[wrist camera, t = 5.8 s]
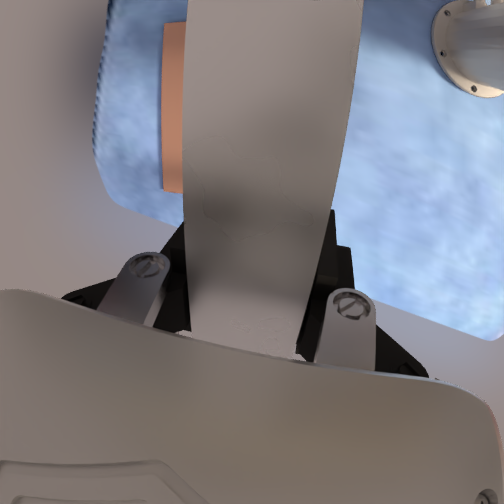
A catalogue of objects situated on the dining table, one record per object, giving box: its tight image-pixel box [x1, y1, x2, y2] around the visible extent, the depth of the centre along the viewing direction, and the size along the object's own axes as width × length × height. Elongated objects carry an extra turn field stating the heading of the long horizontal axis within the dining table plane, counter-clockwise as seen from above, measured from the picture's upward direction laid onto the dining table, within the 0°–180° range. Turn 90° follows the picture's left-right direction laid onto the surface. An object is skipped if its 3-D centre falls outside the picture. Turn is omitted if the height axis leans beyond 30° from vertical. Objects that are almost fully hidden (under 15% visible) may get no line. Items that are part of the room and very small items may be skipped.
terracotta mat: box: [161, 22, 186, 194], centre depth 34 cm, size 23×10×1 cm, turn 175°
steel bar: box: [182, 0, 364, 359], centre depth 9 cm, size 22×3×3 cm, turn 175°
